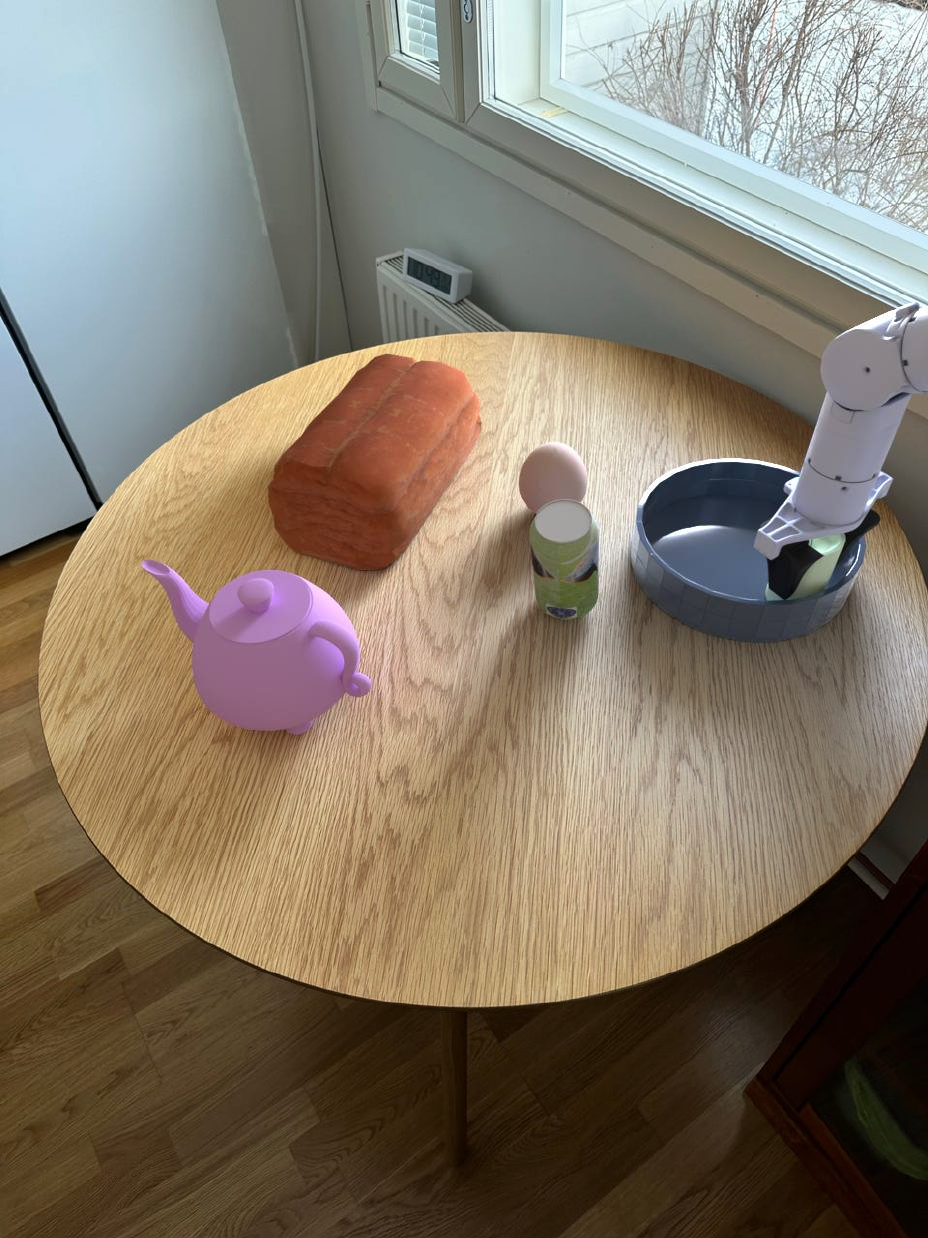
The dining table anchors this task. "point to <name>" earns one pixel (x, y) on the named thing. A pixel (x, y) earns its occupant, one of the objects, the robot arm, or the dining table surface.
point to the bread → (375, 462)
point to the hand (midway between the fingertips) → (799, 580)
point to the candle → (817, 568)
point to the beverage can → (565, 559)
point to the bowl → (725, 552)
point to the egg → (552, 476)
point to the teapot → (267, 648)
